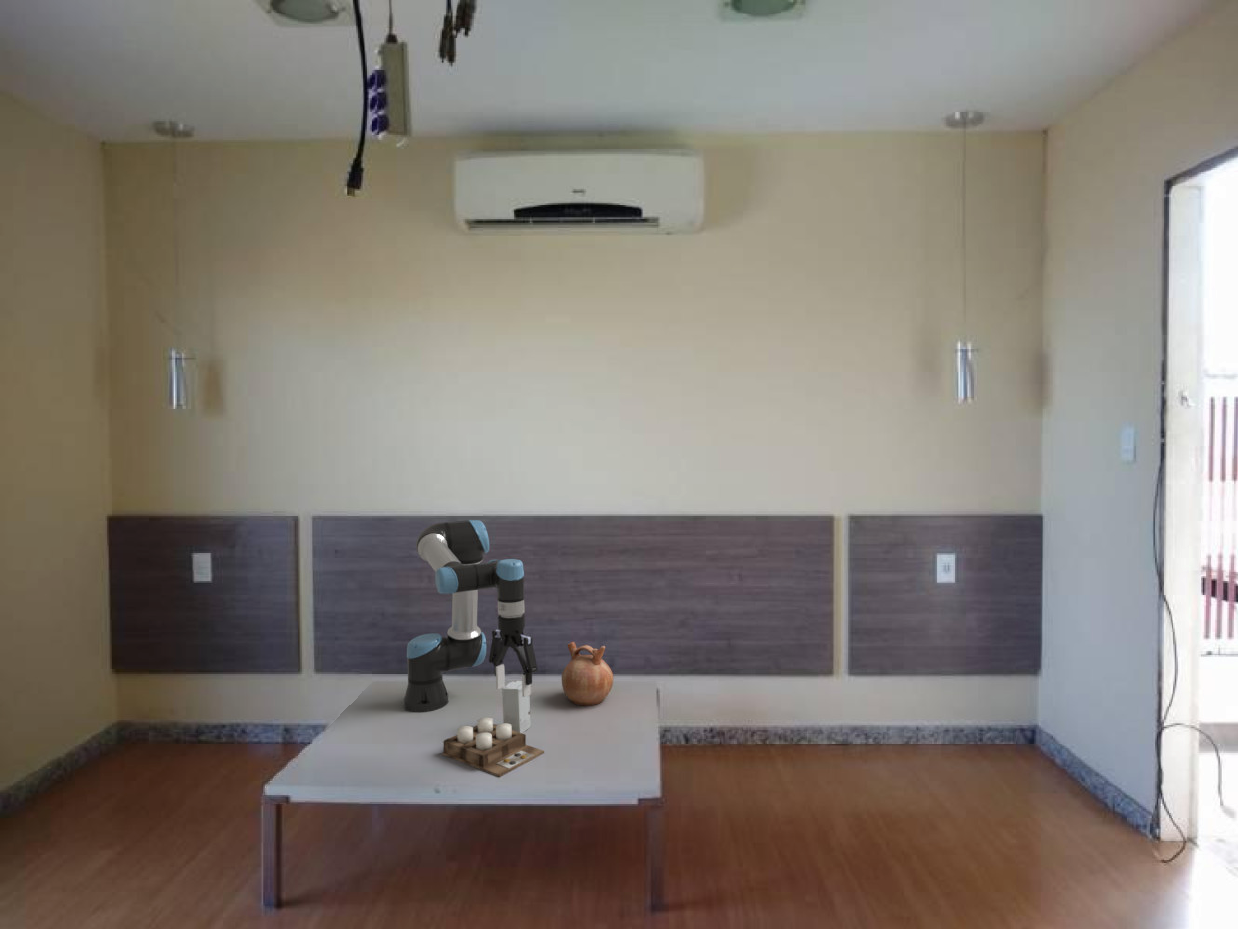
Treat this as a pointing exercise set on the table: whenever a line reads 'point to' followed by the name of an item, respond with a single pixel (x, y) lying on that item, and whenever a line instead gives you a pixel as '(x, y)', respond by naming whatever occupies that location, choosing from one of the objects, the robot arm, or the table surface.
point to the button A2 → (485, 725)
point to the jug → (586, 676)
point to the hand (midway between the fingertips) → (513, 691)
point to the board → (492, 753)
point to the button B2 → (503, 731)
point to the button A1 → (465, 734)
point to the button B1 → (483, 741)
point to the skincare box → (516, 707)
